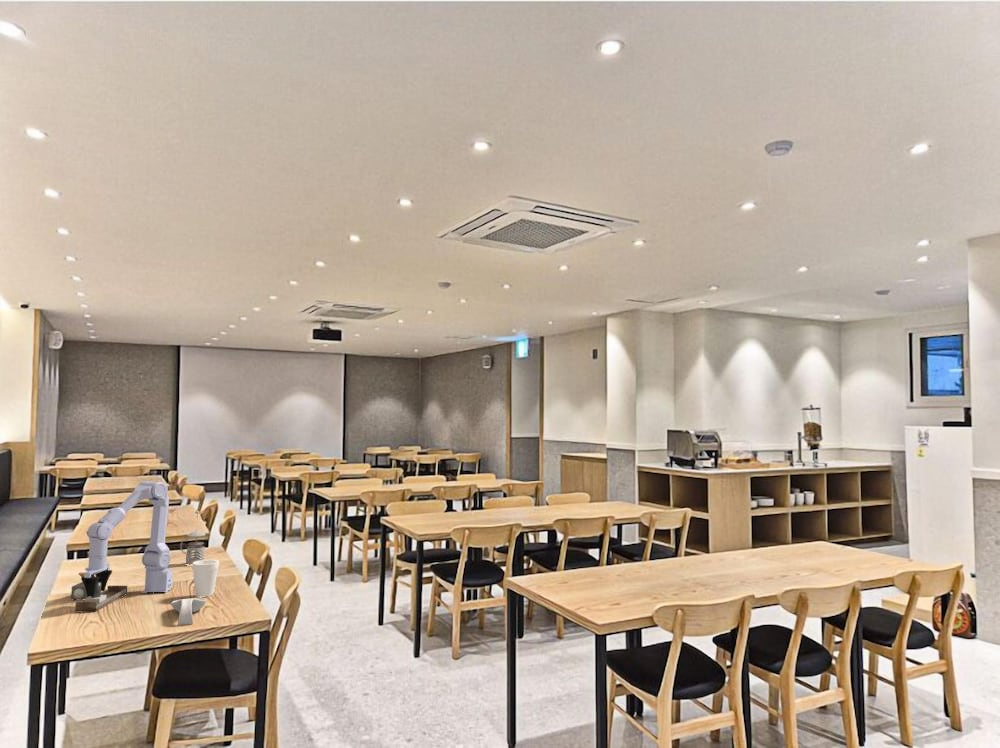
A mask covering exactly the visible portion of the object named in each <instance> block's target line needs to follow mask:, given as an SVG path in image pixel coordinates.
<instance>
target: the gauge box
mask: <svg viewBox="0 0 1000 748" xmlns="http://www.w3.org/2000/svg"><path fill="white" fill-rule="evenodd" d="M70 594H71V595H70V600H71V599H85V598H87V597H89V596H87V593H86V589H85V586H84V583H83V582H82V581H81V582H79V583H77V584H75V585H72V586H71V593H70Z"/></svg>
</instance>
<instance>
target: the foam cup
mask: <svg viewBox="0 0 1000 748" xmlns="http://www.w3.org/2000/svg"><path fill="white" fill-rule="evenodd" d="M191 567H192V573H193V581H194V582H193V583H194V584H193V585H194V593H195V594H194V595H195V597H196V596H199V597H200V596H209V595H212V594H213V593H214V594H215V589H216V588H215V587H216V582H217V577H218V571H219V570H218V569H219V567H220V561H219V560H218V559H217V560H216V559H204V560H200V561H196V562H193V566H191ZM214 594H213V595H214Z"/></svg>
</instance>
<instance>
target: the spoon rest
mask: <svg viewBox="0 0 1000 748" xmlns="http://www.w3.org/2000/svg"><path fill="white" fill-rule="evenodd" d="M207 599H208V598H197V597H193V598H192V597H191V598H189V597H188V598H183V599H182V598H181V599H175V600H173V601H172V602H171V601H170V605H171V607H172V608H173V609H174V610H175V611H177V612H178V613H179V615H178V620H177V626H187V625H188V624H189V625H193V623H194V617H193V613H192V612H195V613H197V612H198V611H200V610H201V609H203V607H204V606H205V605H206V603H207V601H208V600H207ZM196 611H197V612H196Z"/></svg>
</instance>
